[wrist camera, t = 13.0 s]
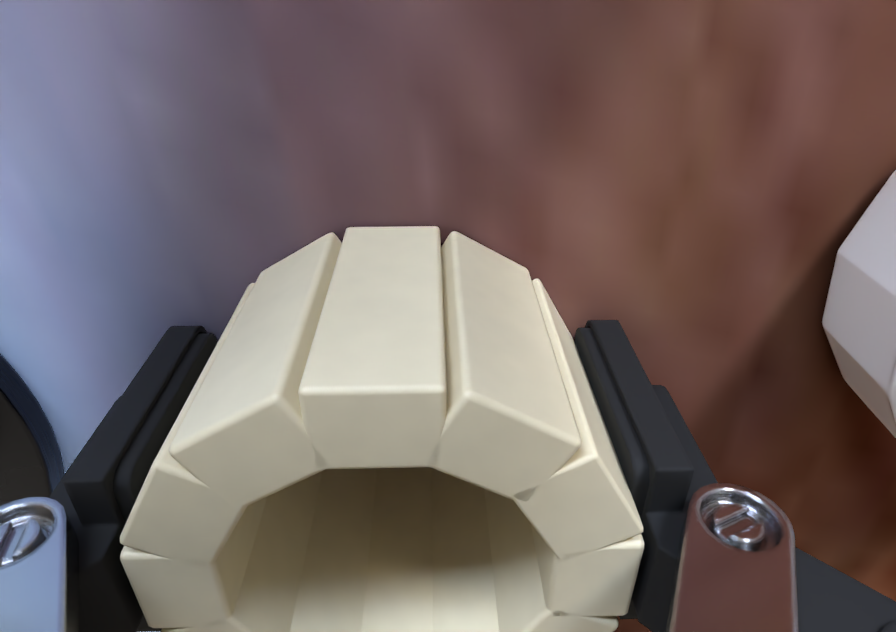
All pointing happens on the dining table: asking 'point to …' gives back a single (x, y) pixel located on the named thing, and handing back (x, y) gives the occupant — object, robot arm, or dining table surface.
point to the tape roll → (388, 457)
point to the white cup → (867, 307)
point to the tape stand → (25, 442)
